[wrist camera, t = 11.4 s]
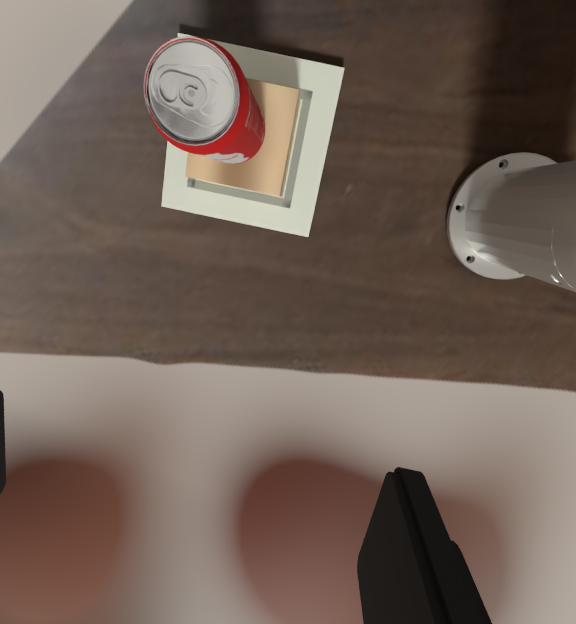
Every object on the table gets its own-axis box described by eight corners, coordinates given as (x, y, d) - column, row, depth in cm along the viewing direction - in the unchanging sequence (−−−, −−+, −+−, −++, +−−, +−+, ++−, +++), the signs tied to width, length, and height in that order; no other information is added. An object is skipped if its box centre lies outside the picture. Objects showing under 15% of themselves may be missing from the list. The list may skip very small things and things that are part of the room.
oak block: (300, 101, 36) (299, 89, 32) (282, 196, 39) (279, 196, 35) (209, 82, 36) (197, 68, 32) (197, 178, 39) (185, 176, 35)
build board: (343, 72, 36) (344, 67, 35) (308, 236, 41) (308, 237, 40) (182, 38, 36) (177, 32, 35) (165, 206, 41) (161, 206, 40)
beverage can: (219, 81, 32) (146, -13, 18) (285, 120, 33) (264, 58, 19) (192, 147, 34) (105, 108, 20) (255, 182, 35) (215, 170, 20)
